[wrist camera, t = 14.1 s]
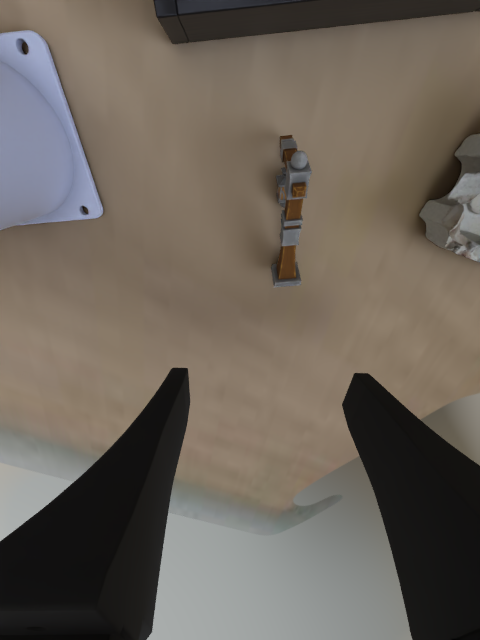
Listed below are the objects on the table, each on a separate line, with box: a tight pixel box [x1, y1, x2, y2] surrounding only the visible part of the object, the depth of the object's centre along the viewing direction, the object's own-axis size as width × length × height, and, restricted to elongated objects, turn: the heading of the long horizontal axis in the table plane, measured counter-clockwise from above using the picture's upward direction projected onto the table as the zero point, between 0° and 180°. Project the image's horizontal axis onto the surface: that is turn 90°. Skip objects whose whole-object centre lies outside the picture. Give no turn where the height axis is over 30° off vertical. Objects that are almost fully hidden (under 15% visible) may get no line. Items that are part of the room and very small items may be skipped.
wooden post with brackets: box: [271, 135, 312, 287], centre depth 15 cm, size 2×8×4 cm, turn 5°
